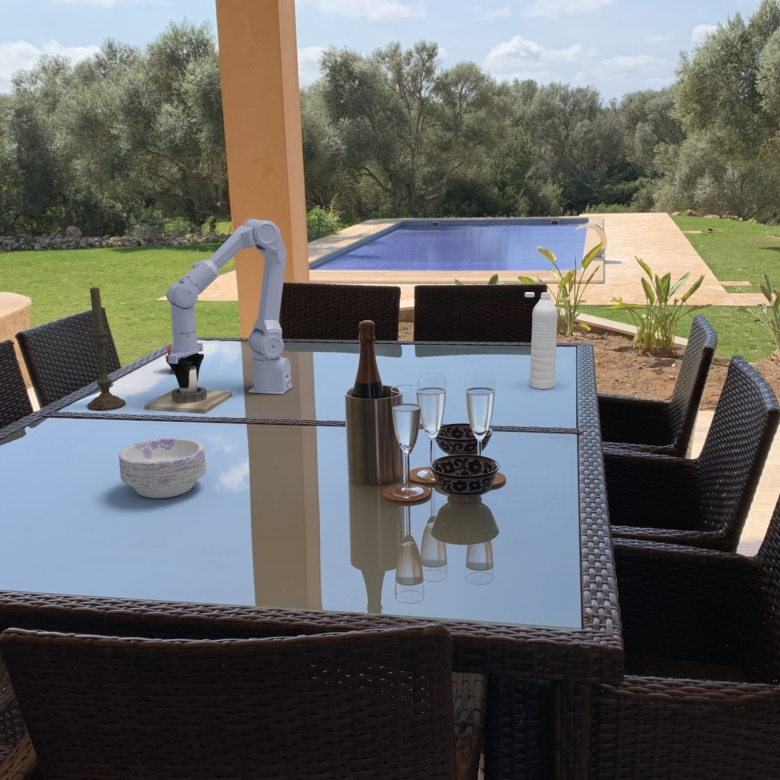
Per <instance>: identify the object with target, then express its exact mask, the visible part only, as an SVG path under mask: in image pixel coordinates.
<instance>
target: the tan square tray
mask: <svg viewBox="0 0 780 780" xmlns="http://www.w3.org/2000/svg"><path fill="white" fill-rule="evenodd" d="M197 390H198V393H193V394H180V392H179V387H178V388H174V389H172V390H170V391H168V392H166V393H165V394H163V395H161V396H159V397H157V398H155V399H154V400H151V401H150V402H148V403H146V404H145V405H144V410H147V411H148V410H150V411H164V412H166V411H167V412H177V413H178V412H179V413H181V412H182V413H193V414H194V413H195V414H207V413H208V412H209V411H211V410H213V409H214V408H216V407H217V406H219V405H220V404H222V403H223V402H225V401H226V400H229V398H231V397H232V396H233V391H226V390H225V391H223V390H222V391H221V390H207V388H206V387H202V386H197Z"/></svg>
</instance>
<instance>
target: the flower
mask: <svg viewBox="0 0 780 780" xmlns="http://www.w3.org/2000/svg"><path fill="white" fill-rule="evenodd" d="M164 347H165V349H166V350H167V354H166V353H165V352H163V354H164V358H165V362H166V363H167V364H168V365H169V363H168V361H169V360H168V356H169V355H170V354H171V353H172V352H170V349H172V348H174V344H172V345H171V344H168V346H166V345H165V346H164ZM169 373H171V374H173V373H174V372H173V370H172V368H171V367H170V370H169Z"/></svg>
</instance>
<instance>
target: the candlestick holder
mask: <svg viewBox="0 0 780 780" xmlns="http://www.w3.org/2000/svg"><path fill="white" fill-rule="evenodd" d="M92 286H93V287H91V288H89V294H90V303H91V311H92V314H91V315H92V322H93V331H92V332H91V333H90V335H91V336H92V337H93V339H92V343H93V345H94V346H96V347H97V348H96V349H97V352H96V357H97V359H98V366H99V367H98V369H99V372H100V375H99V377H98V379H97V380H96V383H97V386H98V388H99V389H100V393H99V395H98V396H97V397H94V398H93V399H92V400H91V401H89V402H88V403H87V406H86V407H87V409H89V410H90V411H95V412H98V411H99V412H100V411H101V412H106V411H112V410H118V409H120V408H123V407H124V406H126V404H127V403H126V400H125V399H123V398H120V397H119V396H118V395H115V394H113V393H112V392H110V387H111V386H112V382H113V381H112V379H111V378H110V377H108V374H107V366H106V365H107V363H106V357H107V354H106V349H105V345H106V344H108V339H107V335H108V331H107V330H104V329H105V328H104V321H103V311H102V303H101V302H102V300H101V299H102V298H101V291H100V287H95V286H94V285H92Z"/></svg>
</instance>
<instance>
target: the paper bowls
mask: <svg viewBox="0 0 780 780" xmlns="http://www.w3.org/2000/svg"><path fill="white" fill-rule="evenodd" d="M118 460H119V464H118V465H119V466H118V467H119V474H120V480H121V482H122V483H123V484H125V485H128V486H130V487H132V488H133V489H134V490H135V491H136V493H137V494H138V495H140V496H143V497H146V498H150V499H167V498H168V499H169V498H174V497H177V496H181V495H184V494H186V493H188V492H189V491H190V490H192V489H193V487H194V486H195V483H196V481H197V480H199V479H200V478H202V477H203V476H205V474H206V472H207V467H206V466H207V463H206V450H205V446H204V444H203V443H202V442H200V441H198V440H196V439H191V438H190V439H189V438H183V437H171V438H170V437H166V438H155V439H150V440H149V439H148V440H144V441H139V442H137V443H134V444H131V445H129V446H126V447H124V448H123V449H122V450H120V452H119V455H118Z"/></svg>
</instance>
